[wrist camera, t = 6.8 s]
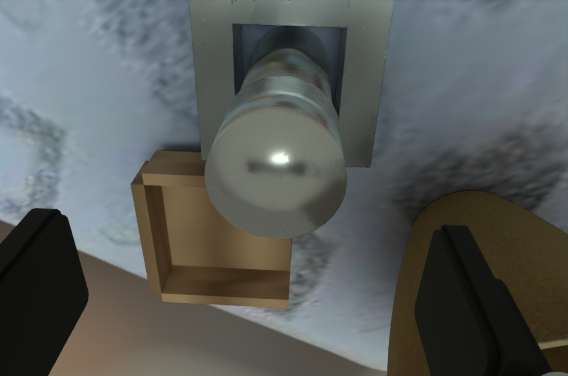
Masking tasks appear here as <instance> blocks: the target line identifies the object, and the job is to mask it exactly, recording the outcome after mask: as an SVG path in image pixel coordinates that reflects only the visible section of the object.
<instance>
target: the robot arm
mask: <svg viewBox="0 0 568 376" xmlns="http://www.w3.org/2000/svg"><path fill="white" fill-rule="evenodd" d="M88 295H89V293H88V288H87V285H86V281H85V277H84V274H83V271H82V267H81V263H80V260H79V256H78V252H77V249H76V245H75V242H74V238H73V235H72V231H71V228H70V224H69V220H68V218H67V217H66V216H65V215H62V214H61V212H60V211H59V210H57V209H43V208H34V209H32V210H31V211H29V212H28V214H27V215H26V216H25V217H24V218H23V219H22V220H21V221H20V222H19V224H18V225H17V226H16V227H15V228H14V229H13V230H12V231H11V233H10V234H9V235H8V236H7V237H6V238H5V239H4V240H3V241H2V243H1V244H0V376H48V375H49V373H50V371H51V369H52V367H53V366H54V364H55V362H56V360H57V358H58V356H59V354H60V353H61V351H62V349H63V347H64V345H65V344H66V342H67V340H68V338H69V336H70V334H71V332H72V330H73V329H74V327H75V325H76V323H77V321H78V319H79V318H80V316H81V314H82V312H83V310H84V309H85V307H86V305H87V302H88ZM414 314H415V320H416V324H417V327H418V331H419V335H420V338H421V342H422V346H423V349H424V353H425V356H426V360H427V364H428V367H429V371H430V375H431V376H568V374H567V373H563V372H553V371H552V369H551V367H550V365H549V364H548V362H547V360H546V358H545V356H544V354H543V352H542V351H541V349H540V347H539V345H538V343H537V341H536V340H535V338H534V336H533V334H532V332H531V330H530V328H529V327H528V325H527V323H526V321H525V319H524V317H523V316H522V314H521V312H520V310H519V308H518V306H517V304H516V303H515V301H514V299H513V297H512V295H511V293H510V292H509V290H508V288H507V286H506V285H505V283H504V282H503V281H502V280H500V279H495V277H494V275H493V273H492V271H491V269H490V267H489V265H488V264H487V262H486V260H485V258H484V256H483V254H482V252H481V250H480V248H479V246H478V244H477V243H476V241H475V239H474V237H473V235H472V233H471V231H470V229H469V228H468V226H466V225H446V224H444V225H442V227H441V228H440V230H434V232H433V234H432V238H431V242H430V246H429V250H428V254H427V258H426V262H425V266H424V270H423V274H422V278H421V282H420V286H419V290H418V294H417V298H416V302H415V309H414Z"/></svg>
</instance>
